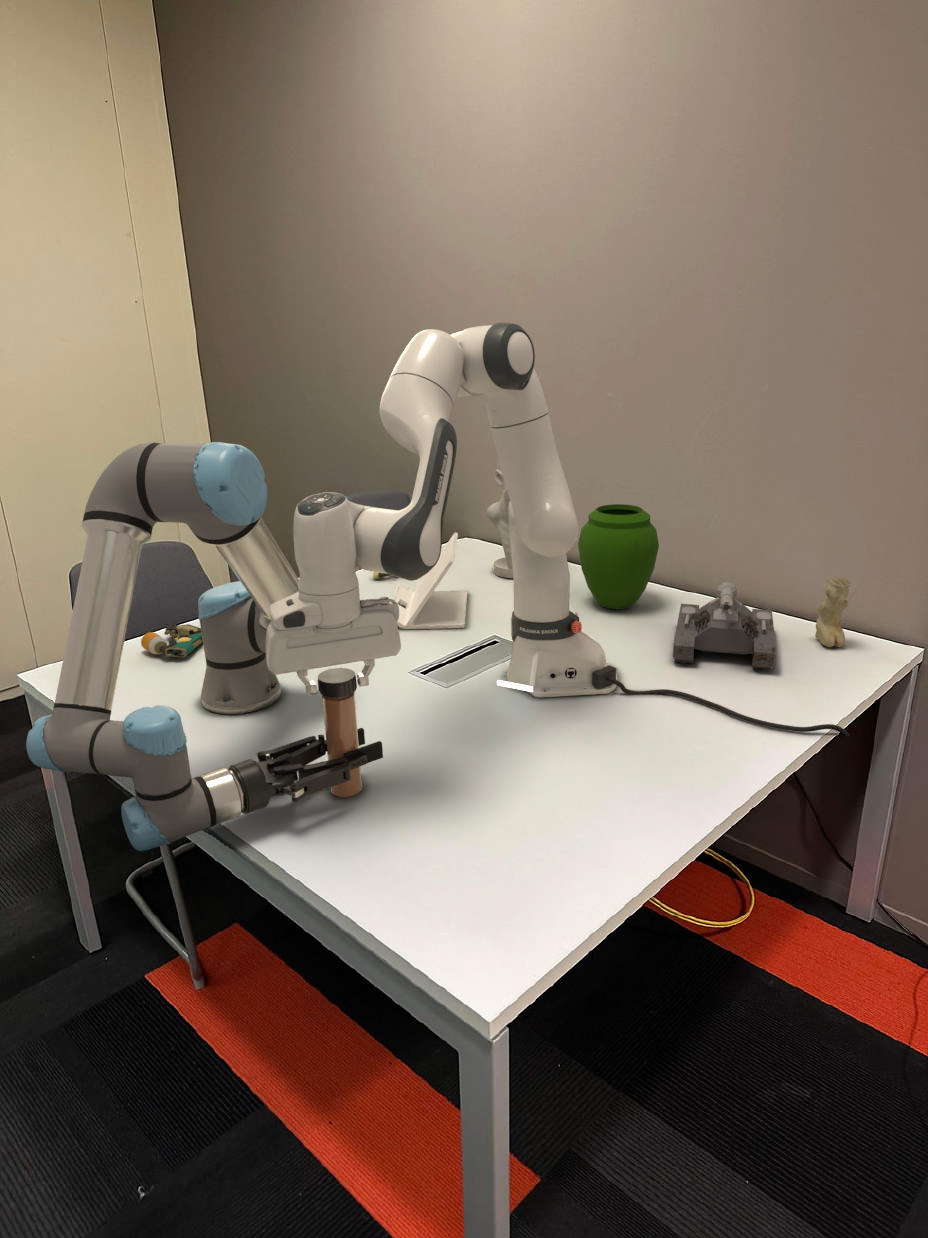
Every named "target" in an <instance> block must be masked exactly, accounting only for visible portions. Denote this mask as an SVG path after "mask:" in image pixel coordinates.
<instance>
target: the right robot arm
mask: <svg viewBox="0 0 928 1238" xmlns="http://www.w3.org/2000/svg"><path fill="white" fill-rule="evenodd" d="M535 361H536V354H535V347H534V343H533V340H532V339H531V337H530V335H529V334H528V333H527V331H525V329H524V328H523V327H522V326H520V325H519V324H516V323H511V322H497V323H494V324H487V325H480V326H479V325H477V326H472V327H468V328H465V329H463V330H460V331H456V332H453V333H451V334H449V333H447V332H446V331H443V330H440V329H432V328H430V329H424V330H421V331H419V332H417V333H416V334H415V335H414V336H413V337H412V338H411V340H410V341H409V343H408V344H407V345H406V346H405V348H404V350H403V351H402V353H401V355H400V356H399V358H398V360H397V362H396V364H395V365H394V367H393V369H392V372H391V374H390V376H389V378H388V381H387V383H386V385H385V387H384V390H383V392H382V395H381V398H380V403H379V417H380V421H381V423H382V424H381V425H382V426H383V428H384V429H385V431H386V432H387V434H388V435H389V436H390V437H391V438H392V439H393V440H394V441H395V442H396V443H397V444H398V445H400V446H401V447H403V448H404V449H406V450H407V451H409V452H411V453H413V454H414V455H416V456H418V457H419V465H418V468H417V469H418V470H417V473H416V478H415V483H414V487H413V491H412V496H411V500H410V503H409V504H408V505H407V506H406V507H404V508H402V509H399V510H398V509H390V508H381V507H376V506H369V505H364V504H359V503H355V502H353V501H351V500H349V499H348V498H347V496H346V495H344V494H342V493H341V492H336V491H335V492H334V491H323V492H320V493H314V494H311V495H308V496H307V497H304V498H303V499H302V500H300V501H299V502H298V503H297V505H296V507H295V510H294V514H293V524H292V525H293V527H292V532H293V535H292V536H293V538H292V539H293V551H294V560H295V563H296V566H297V569H298V572H299V573H298V575H299V576H298V578H299V582H298V592H297V593H295V594H293V595H291V596H288V597H286V598H284V599H282V600H279V601H277V602H275V603H273V604H272V605H271V606H270V610H269V612H270V618H271V621H272V622H271V623H270V624H269V625H268V627H267V631H266V644H265V649H266V662H267V667H268V669H269V670H270V671H271V672H272V673H273V674H275V675H276V676H277V675H283V674H284V675H285V674H290V673H295V672H296V675H297V678H298V679H299V680H300V681H301V682H302V683H303V685H304V687H305V693H306V696H307V697H309V696H314V695H317V694H318V690H317V688H318V686H317V683H316V681H315V680H314V679H312V680H311V679H310V680H309V679H308V670H314V669H320V668H327V667H333V666H339V665H347V664H352V663H359V662H363V663H364V666H363V668H362V670H361V672H356V682H357V686H358V687H359V688H361V687H367V686H370V680H369V676H370V675H371V673H372V671H373V670H374V668H375V666H376V663H375V660H376V659H382V658H383V659H384V658H390V657H395V656H397V655H398V654H399V653H400V651H401V649H402V643H401V636H400V631H399V628H398V627H399V626H397V623H396V622H397V621H398V619H399V606H398V604H399V603H398V604H397V602H396V601H395V599H393V598H389V597H388V596H380V597H379V598H365V599H361V598H360V597H361V596H360V582H359V579H358V575H357V571H359V570H364V571H368V572H379V573H385V574H389V575H391V576H392V577H396V578H400V579H403V580H406V581H409V582H410V581H412V582H414V581H416V580H419V579H421V578H422V577H425V576H426V574H427V573H428V572H429V571H430V570H431V569H432V568H433V567H434V566H435V565H436V563H437V562H438V560H439V557H440V554H441V552H442V547H443V529H444V528H443V527H444V526H443V525H444V519H445V513H446V509H447V504H448V499H449V495H450V490H451V484H452V480H453V474H454V469H455V463H456V457H457V449H458V438H457V432H456V429H455V427H454V426H453V424H452V423H451V422H450V416H451V412H452V409H453V406H454V403H455V401H456V398H460V397H461V398H465V397H467V398H468V397H477V396H482V397H483V398H484V401H485V410H486V415H487V419H488V423H489V428H490V434H491V436H492V441H493V445H494V449H495V450H494V451H495V454H496V457H497V461H498V462H499V466H500V470H501V473H502V476H503V479H504V482H505V485H506V488H507V492H508V495H509V498H510V502H509V507H508V513H509V532H510V545H511V556H512V566H513V578H512V579H513V611H512V612H511V618H510V635H511V640H512V645H511V646H512V647H511V655H510V660H509V665H508V669H507V672H506V675H505V678H506V680H501V679H497V680H496V685H497V686H500V687H505V688H509V689H515V690H519V691H525V692H527V693H529V694H530V695H531V696H533V697H535V698H556V697H572V696H573V697H574V696H588V695H589V696H590V695H591V696H592V695H607V694H611V693H612V692H613V691H615V690H616V688H617V687H619V689H620V690H621V692H623V693H625V694H627V695H631V696H648V695H649V696H650V695H651V696H652V695H672V696H677V697H681V698H685V699H689V700H690V701H691V700H692V701H694V702H697V703H700V704H703V705H705V706H708V707H711V708H713V709H715V710H717V711H718V710H719V711H721V712H723V713H725V714H728V715H729V716H732V717H734V718H737V719H740V720H742V721H745V722H748V723H750V724H751V723H752V724H755V725H759V726H762V727H767V728H772V729H777V730H784V731H789V732H797V733H799V732H800V733H807V732H816V731H822V730H833V731H835V732H838V733H840V734H841V735H842V736H844V737H850V733H848V731H847V730H846V729H845V728H843V727H841V726H839V725H837V724H832V723H824V724H817V725H811V726H795V725H789V724H788V725H787V724H781V723H775V722H770V721H766V720H761V719H758V718H754V717H750V716H747V715H744V714H742V713H739V712H736V711H734V710H732V709H730V708H728V707H725V706H723V705H721V704H718V703H715V702H714V701H713V702H712V701H710V700H707V699H705V698H702V697H699V696H696V695H693V694H690V693H687V692H683V691H680V690H675V689H667V688H665V689H664V688H662V689H660V688H659V689H651V690H650V689H649V690H632V689H628V688H627V687H626V686H625V685H624V683H622V682H621V681H620V680H618V673H617V667H614V666H613V665H612V664H611V663H609V662H607V658H606V654H605V651H604V648H603V647H602V645H601V644H600V643H599V642H598V641H596V640H595V639H593V638H591V637H590V636H589V635H587V634H586V633H585V632H583V631H582V630H583V626H582V625H583V624H582V622H581V621H580V616H579V615H578V612H577V611H575V613H574V612H573V611H571V610H570V590H571V589H570V586H571V585H570V584H571V575H570V570H569V563H568V556H567V553H568V552H569V551H571V549H572V548H573V547H574V546H575V544H576V543H577V542H578V539H579V535H580V534H579V532H580V529H579V527H580V526H579V521H578V517H577V513H576V510H575V506H574V502H573V500H572V499H573V498H572V495H571V492H570V487H569V485H568V481H567V478H566V476H565V472H564V469H563V466H562V463H561V460H560V456H559V452H558V449H557V443H556V440H555V434H554V431H553V426H552V421H551V417H550V412H549V407H548V403H547V399H546V396H545V392H544V390H543V386H542V384H541V381H540V379H539V376H538V373H537V371H536V369H535Z"/></svg>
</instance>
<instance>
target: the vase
mask: <svg viewBox="0 0 928 1238" xmlns="http://www.w3.org/2000/svg"><path fill="white" fill-rule="evenodd" d="M587 516H588V517H587V518H588V521H587V522H586V523H585V524H584V525H583V526H582V527H581V529H580V534H579V537H578V541H577V546H578V554H579V562H580V569H581V571H582V574H583V577H584V580H585V583H586V585H587V588H588V590H589V591H590V594H592V597H593V598H594V600H595V601H596V602H597V603H598V604H599V605H600V606H602V607H604V608H606V609H609V610H625V609H628V608H630V607H632V606H634V604H636V602H638V601H639V599H640V597H641V596H642V595H643V593H644V592H645V590H646V588H647V586H648V584H649V581H650V579H651V577H652V574H653V572H654V570H655V566H656V562H657V557H658V552H659V548H660V544H659V543H660V542H659V537H658V531H657V528H656V527H655V526H654V524H653V523H652V522H651V515H650V514H649V512H647V511H645V510H644V509H643V508H642V507H641V506H638V505H633V504H622V503H621V504H619V503H616V504H615V503H614V504H604V505H601V506H598V507H597V508H595V509H594V510H592V511H591V512H590V513H589V514H588V515H587Z"/></svg>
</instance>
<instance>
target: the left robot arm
mask: <svg viewBox="0 0 928 1238" xmlns="http://www.w3.org/2000/svg"><path fill="white" fill-rule="evenodd" d="M265 478H266V475H265V471H264V468H263V466H262V464H261V462H260V460H259V458H258V457H257V456H256V455H255V454H254V452H253V451H251V450H250V449H249V448H247V447H246V446H243V445H241V444H236V443H235V444H234V443H226V442H223V441H212V442H144V443H138V444H136V445H134V446H131V447H129V448H127V449H125V450H124V451H122V452H120V453H119V454H118V455H117V456H116V457H115V458H114V459H112V460H111V462H110V463H109V464H108V465H107V467H105V469H104V470H103V472H101V474H100V476H99V477H98V479H97V480H96V482H95V484H94V486H93V488H92V490H91V492H90V494H89V497H88V499H87V501H86V504H85V508H84V512H83V517H82V521H81V527H82V529H83V530H84V532H85V533H86V534H87V536H86V542H85V546H84V552H83V557H82V562H81V567H80V573H79V577H78V582H77V588H76V592H75V598H74V602H73V608H72V612H71V617H70V623H69V628H68V633H67V639H66V644H65V649H64V655H63V659H62V664H61V669H60V674H59V679H58V684H57V689H56V695H55V699H54V703H53V708H52V712H51V714H49V715H44V716H41V717H39V718H38V719H36V720H35V722H33V723H32V728H31V729H30V730H29V731H28V732H27V737H26V742H25V743H26V752H27V756H28V758H29V760H30V761H31V762H32V763H33V765H35V766H36V767H38V768H41V769H45V770H50V771H51V770H52V771H58V772H61V773H65V774H66V773H81V774H93V775H94V774H95V775H103V776H112V777H122V778H131V779H132V782H133V786H134V788H133V789H134V794H135V796H133V797H131V798H129V799H127V800H126V801H124V802H123V803H122V804H121V808H120V810H121V820H122V823H123V826H124V830H125V833H126V835H127V838H128V840H129V842H130V844H131V846H132V848H133V849H134V850H136V851H139V852H145V851H146V852H147V851H149V850H152V849H155V848H159V847H161V846H165V845H167V846H168V845H171V844H172V843H173V842H176V841H179V840H181V839H183V838H186V837H189V836H191V835H193V834H196V833H199V832H201V831H203V830H206V829H210V828H213V827H214V826H217V825H221V824H223V823H225V822H228V821H231V820H234V819H236V818H240V817H241V815H242V814H243V815H249V814H251V813H254V812H256V811H259V810H262V809H265V808H266V807H267V806H268V804H269V802H270V800H271V799H272V798H273V797H274V798H275V797H280V796H284V795H288V796H289V797H290V796H291V801H292V802H293V803H298V802H300V801H302V800H304V799H305V798H306V797H308V796H310V795H314V794H317V793H319V792H322V791H324V790H327V789H329V788H330V789H331V787H333V786H335V785H338V784H341V783H344V782H346V781H349V780H350V779H351V776H350V770H352V769H355V768H358V767H360V768H361V767H363V766H366V765H367V764H370V763H372V762H375V761H378V760H381V759H384V750H383V742H382V741H381V740H378V741H375V742H372V743H369V744H367V745H366V736H365V729H364V728H363V727H359V728H357V731H358V743H359V748H358V749H355V750H352V751H350V752H347V753H344V757H342V758H338V759H333V760H328V759H327V760H324V761H320V762H315V763H313V762H314V761H317V760H318V759H320V758H322V757H323V756H325V755H326V754H327V744H326V737H325V735H324V734H318V735H317V736H315V735H310V736H307V737H305V738H302V739H299V740H296V741H293V742H290V743H287V744H284V745H281V746H278V747H275V748H272V749H267V750H262V751H258V752H257V753H256V758H257V761H256V760H254V759H253V758H250V759H246V760H242V761H239V762H237V763H233V764H231V765H229V767H228V768H226V767H221V768H218V769H216V770H213V771H211V772H207V773H204V774H202V775H199V776H196V777H192V773H191V766H190V760H189V759H190V758H189V753H188V747H187V746H188V745H187V742H188V741H187V735H186V733H185V730H184V726H183V722H182V718H181V715H180V713H179V712H178V711H177V709H174V708H173V707H171V706H169V705H157V704H156V705H154V706H145V707H141V708H138V709H135V710H133V711H131V712H129V714H128V715H126V716H125V718H124V720H115V719H114V720H112V719H111V715H112V709H113V705H114V698H115V694H116V687H117V681H118V677H119V672H120V666H121V661H122V655H123V650H124V645H125V639H126V634H127V629H128V624H129V619H130V618H129V617H130V613H131V607H132V603H133V596H134V591H135V586H136V580H137V575H138V570H139V564H140V560H141V554H142V548H143V545H145V544H146V543H149V541H151V539H152V535H153V529H154V526H155V525H156V524H157V523H177V524H178V523H179V524H185V525H186V526H187V527H188V528H189V529H190V531H191V532H192V533H193V535H194V536H195V537H196V538H197V539H198V540H199V541H200V542H202V543H204V544H205V545H209V546H214V547H215V548H216V550H217V552H219V554H220V555H221V557H222V559H224V561H225V562H226V564H227V565H228V566H229V569H231V570H232V572H233V573H234V575H235V576H236V578H237V579H238V581H232V582H227V583H223V584H221V585H217V586H215V587H212V588H210V589H208V590H206V591H204V592H203V593H202V594H201V595H200V596H199V598H198V601H197V609H198V617H197V618H198V620H199V625H200V628H201V633H202V639H203V642H202V644H203V645H202V646H203V651H204V657H205V665H206V668H205V672H204V677H203V682H202V686H201V694H200V697H201V705H202V706H203V707H204V709H206V710H207V711H210V712H212V713H215V714H221V715H241V714H247V713H252V712H256V711H260V710H262V709H264V708H267V707H269V706H270V705H273V704H274V703H275V702H276V701H278V699H279V698H280V696H281V694H282V692H281V684H280V681H279V679H278V676H277V675H275V674H273V673H272V672H271V671H270V670H269V669H268V667H267V662H266V649H265V644H266V631H267V627H268V625H269V624H270V623H271V622H272V621H271V618H270V612H269V610H270V606H271V605H272V604H273V603H275V602H277V601H279V600H282V599H284V598H286V597H288V596H291V595H293V594H295V593H297V592H298V582H299V576H297V574H296V572H295V571H294V569H293V567H292V565H291V564H290V563H289V561H288V559H287V558H286V556H285V554H284V553H283V550H282V549H281V547H280V546H279V543H277V541H276V539H275V537H274V536H273V534H272V533H271V530H270V529H269V528H268V526H267V523H266V522H265V521H264V519H263V514H264V512H265V511H266V507H267V503H268V483H267V482H266V481H265Z"/></svg>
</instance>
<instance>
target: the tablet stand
mask: <svg viewBox="0 0 928 1238" xmlns="http://www.w3.org/2000/svg"><path fill="white" fill-rule="evenodd" d="M458 537H459V533H458V532H456V531H455V532H453V534H452V535H451V537H450V539H449V540H448V542H447V543H446V544H445V546H444V548H443V549H442V550H441V554H440V557H439V560H438V562H437V563H436V565H435V566H434V567H433V568H432V569H431V570H430V571H429V572H428V573H427V574H425V575H424V576H423V579H422V580H421V581H420V583H419V584H418V585H417V587H416V589H415V590H412V589H410V588H409V587H407V586H406V585H403V584H400V585H399V586H398V589H397V591H396V595H395V598H394V601H396V602H397V604H398V606H399V619H398V621H397V622H396V623H397V626H398V627H399V628H401V629H402V630H426V629H427V630H429V629H430V630H431V629H435V630H436V629H437V630H438V629H464V628H465V627H466V618H467V617H466V616H467V605H468V591H467V590H436V589H437V587H438V585H440V582H441V581H442V580H443V578H444V577H445V575H446V574H447V573H448V571H449V570H450V569H451V567H452V566H453V564H454V562H455V558H456V553H457V545H458ZM399 603H400V604H399ZM402 605H403V606H405V607H403V606H402Z"/></svg>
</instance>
